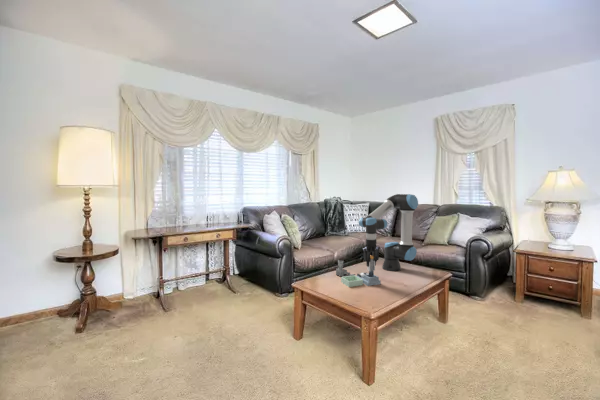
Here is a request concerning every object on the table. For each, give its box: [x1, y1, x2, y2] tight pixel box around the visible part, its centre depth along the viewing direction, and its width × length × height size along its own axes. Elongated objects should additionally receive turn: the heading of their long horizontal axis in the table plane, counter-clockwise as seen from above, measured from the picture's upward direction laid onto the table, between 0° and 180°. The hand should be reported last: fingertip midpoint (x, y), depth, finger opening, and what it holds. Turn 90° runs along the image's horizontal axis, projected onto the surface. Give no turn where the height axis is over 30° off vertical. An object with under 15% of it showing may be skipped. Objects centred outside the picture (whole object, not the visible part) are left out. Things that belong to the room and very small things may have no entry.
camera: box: [335, 259, 357, 277], centre depth 232 cm, size 9×12×15 cm
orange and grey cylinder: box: [368, 254, 375, 277], centre depth 214 cm, size 4×4×15 cm
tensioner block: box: [356, 272, 381, 287], centre depth 219 cm, size 17×11×6 cm, turn 19°
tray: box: [340, 275, 364, 288], centre depth 215 cm, size 12×12×4 cm
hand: (371, 270), depth 214 cm, fingers closed on orange and grey cylinder, 3 cm apart
